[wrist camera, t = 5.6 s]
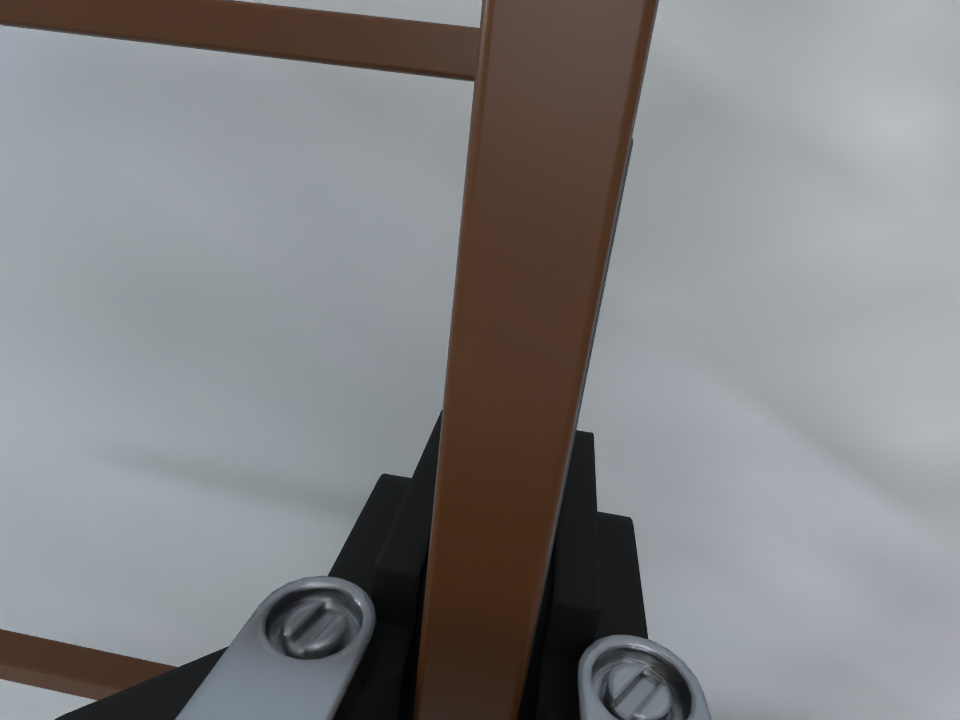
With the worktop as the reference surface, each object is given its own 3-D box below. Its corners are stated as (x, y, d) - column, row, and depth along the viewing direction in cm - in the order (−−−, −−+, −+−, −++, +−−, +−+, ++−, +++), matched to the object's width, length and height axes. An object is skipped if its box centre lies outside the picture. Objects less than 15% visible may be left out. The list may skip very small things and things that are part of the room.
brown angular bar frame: (617, 48, 8) (675, -26, 3) (492, 751, 14) (447, 1096, 9) (-258, -51, 9) (-1136, -208, 5) (-44, 635, 15) (-337, 887, 10)
